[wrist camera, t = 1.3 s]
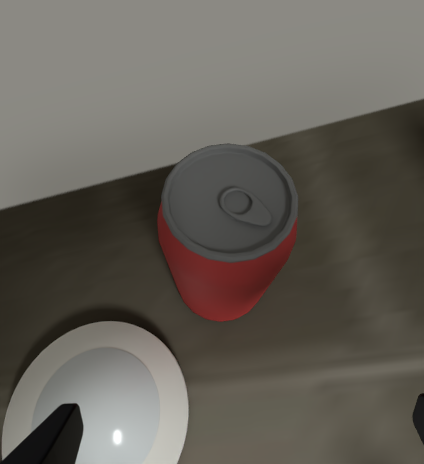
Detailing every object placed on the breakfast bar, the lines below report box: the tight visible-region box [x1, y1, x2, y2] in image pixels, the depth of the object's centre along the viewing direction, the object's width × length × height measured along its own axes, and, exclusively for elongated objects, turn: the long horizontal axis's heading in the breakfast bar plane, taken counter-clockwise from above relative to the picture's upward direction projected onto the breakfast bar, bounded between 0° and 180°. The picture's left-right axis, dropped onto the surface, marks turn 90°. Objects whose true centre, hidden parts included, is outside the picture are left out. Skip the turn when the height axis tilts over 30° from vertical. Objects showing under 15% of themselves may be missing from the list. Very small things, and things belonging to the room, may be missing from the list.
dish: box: [2, 321, 189, 464], centre depth 18 cm, size 11×11×1 cm
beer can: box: [157, 144, 298, 322], centre depth 17 cm, size 7×7×12 cm
